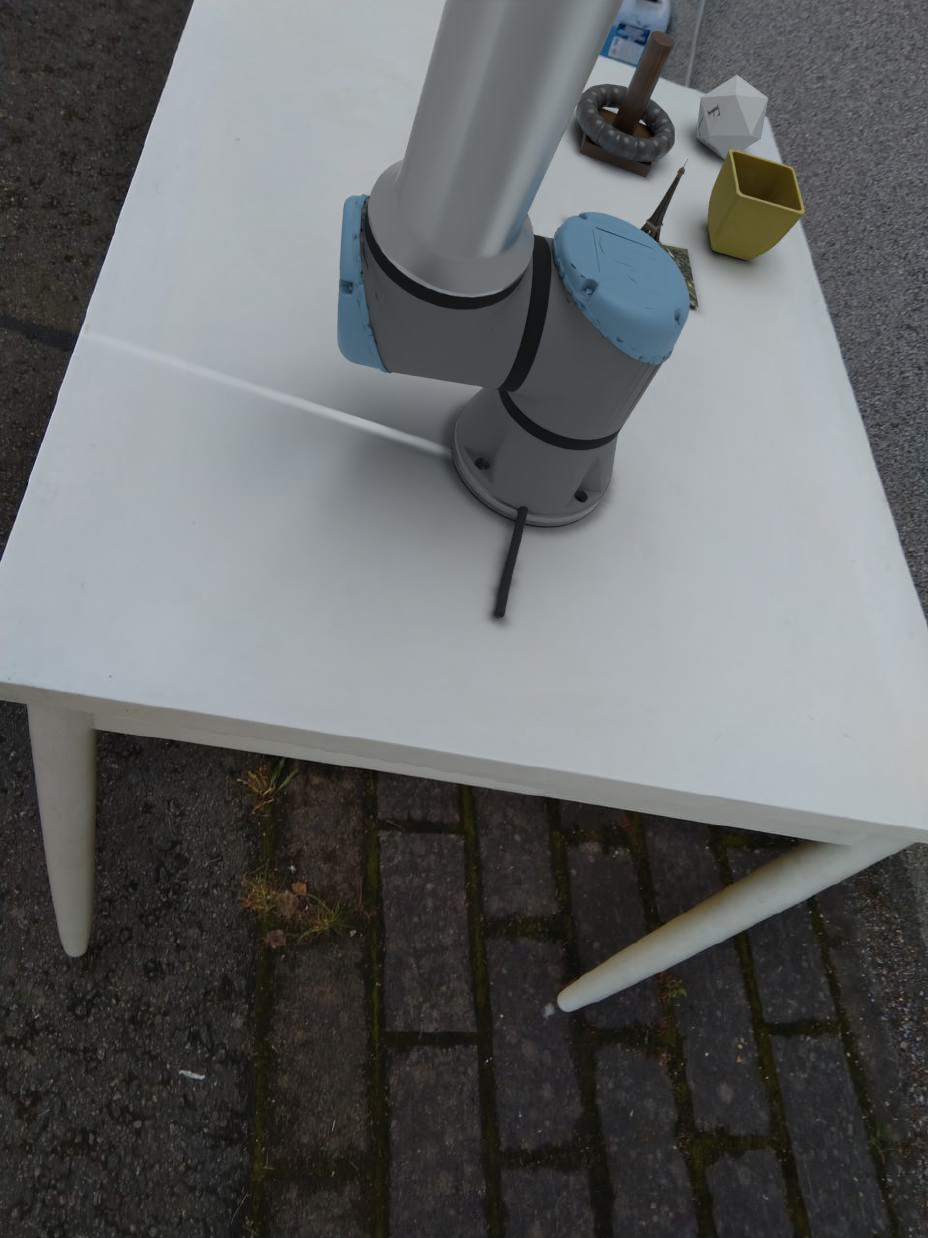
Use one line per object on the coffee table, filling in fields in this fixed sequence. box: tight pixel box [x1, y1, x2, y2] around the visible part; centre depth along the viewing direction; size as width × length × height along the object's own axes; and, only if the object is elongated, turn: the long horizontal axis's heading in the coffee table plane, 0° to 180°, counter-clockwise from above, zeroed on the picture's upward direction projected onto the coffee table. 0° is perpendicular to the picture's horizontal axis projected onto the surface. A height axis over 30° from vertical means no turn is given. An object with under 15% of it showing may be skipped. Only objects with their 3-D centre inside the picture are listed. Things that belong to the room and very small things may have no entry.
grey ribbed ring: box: [575, 83, 676, 162], centre depth 114 cm, size 13×13×3 cm
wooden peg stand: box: [579, 30, 676, 178], centre depth 110 cm, size 9×9×14 cm
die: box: [695, 74, 769, 161], centre depth 119 cm, size 8×9×10 cm
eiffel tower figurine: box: [639, 158, 699, 308], centre depth 98 cm, size 15×10×13 cm
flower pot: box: [707, 149, 805, 261], centre depth 108 cm, size 9×9×9 cm
